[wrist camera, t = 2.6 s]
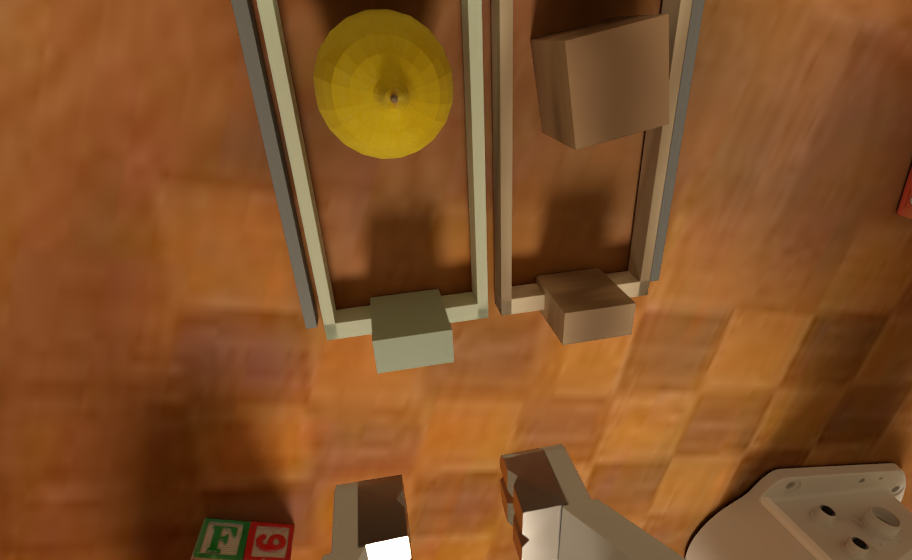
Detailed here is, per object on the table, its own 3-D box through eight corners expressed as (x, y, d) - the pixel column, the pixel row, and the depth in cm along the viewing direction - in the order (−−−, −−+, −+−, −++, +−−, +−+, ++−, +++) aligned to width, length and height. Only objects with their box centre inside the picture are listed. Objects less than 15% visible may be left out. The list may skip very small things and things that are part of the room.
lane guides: (705, -86, 22) (719, -91, 21) (650, 273, 31) (658, 280, 30) (219, -75, 19) (212, -80, 18) (307, 319, 28) (306, 328, 27)
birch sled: (680, -44, 23) (748, -61, 19) (633, 290, 31) (674, 327, 27) (490, -38, 21) (521, -54, 17) (495, 309, 30) (516, 352, 26)
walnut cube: (616, 17, 24) (668, 13, 20) (621, 110, 26) (669, 124, 22) (529, 40, 23) (564, 41, 20) (541, 132, 26) (575, 149, 22)
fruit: (311, 14, 21) (289, 4, 14) (435, 11, 22) (472, 0, 15) (329, 142, 24) (319, 187, 17) (440, 135, 25) (474, 176, 18)
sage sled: (472, -37, 21) (499, -54, 17) (482, 311, 30) (502, 354, 26) (256, -29, 20) (232, -45, 16) (329, 333, 28) (325, 381, 24)
